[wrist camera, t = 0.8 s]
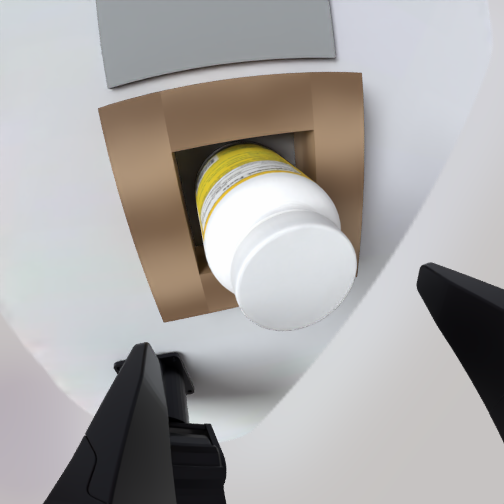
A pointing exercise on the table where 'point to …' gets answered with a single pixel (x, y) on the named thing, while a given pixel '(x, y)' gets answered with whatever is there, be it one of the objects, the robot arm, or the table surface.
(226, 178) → the pill bottle
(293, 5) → the slate mat
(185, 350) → the table surface
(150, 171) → the holder block
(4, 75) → the table surface
